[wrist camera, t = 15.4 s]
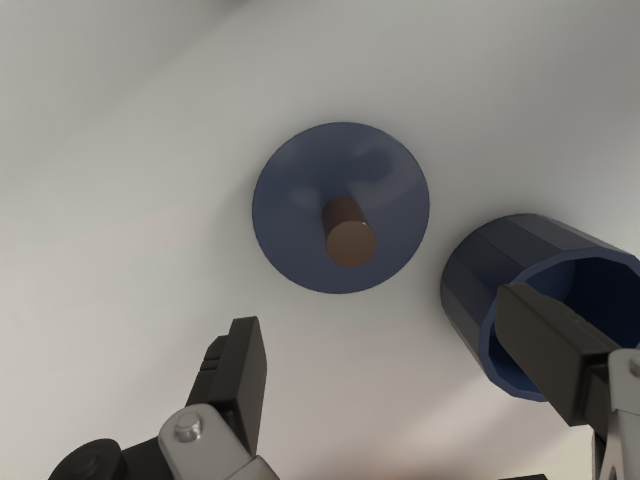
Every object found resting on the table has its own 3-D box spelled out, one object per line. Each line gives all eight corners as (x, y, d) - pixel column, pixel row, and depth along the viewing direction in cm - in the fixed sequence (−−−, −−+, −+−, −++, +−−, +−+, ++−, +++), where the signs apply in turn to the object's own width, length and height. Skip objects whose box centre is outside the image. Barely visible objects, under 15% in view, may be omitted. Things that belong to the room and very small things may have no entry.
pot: (440, 223, 24) (483, 261, 19) (590, 205, 24) (680, 236, 19) (439, 347, 28) (475, 411, 22) (570, 331, 28) (639, 390, 22)
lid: (238, 133, 22) (215, 144, 16) (423, 110, 22) (465, 112, 16) (269, 295, 26) (260, 349, 20) (425, 276, 26) (459, 324, 20)
